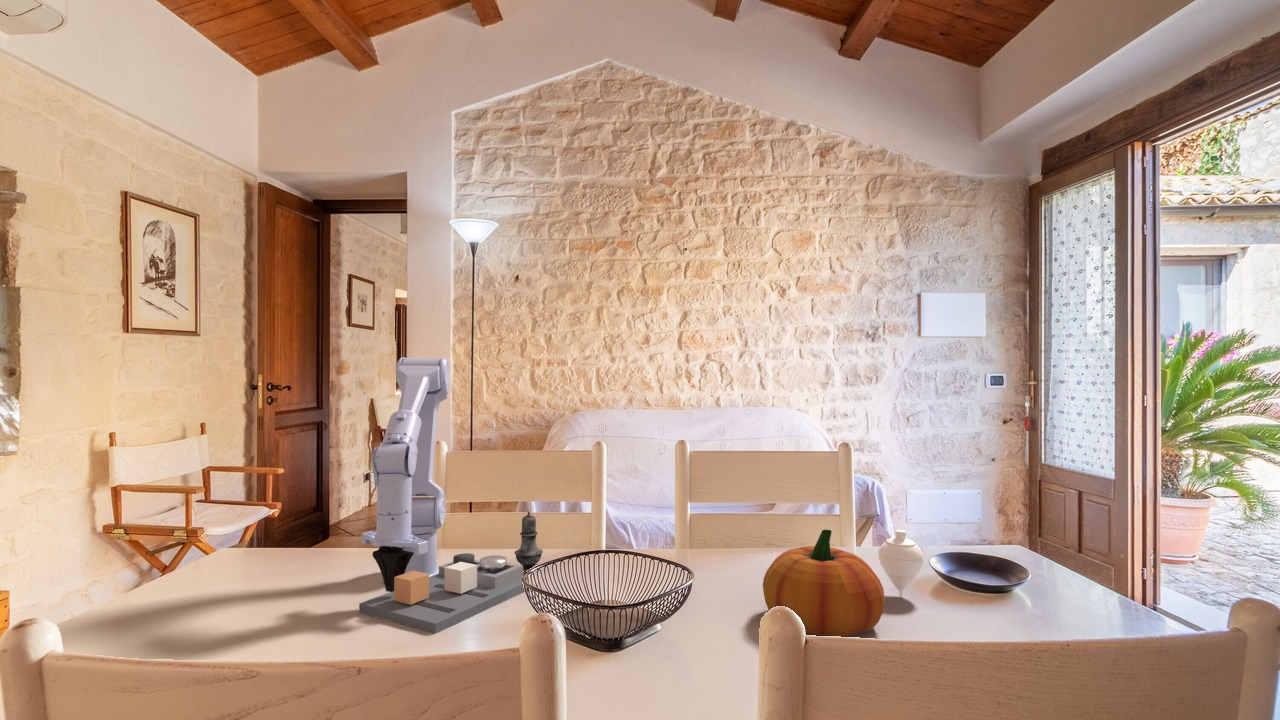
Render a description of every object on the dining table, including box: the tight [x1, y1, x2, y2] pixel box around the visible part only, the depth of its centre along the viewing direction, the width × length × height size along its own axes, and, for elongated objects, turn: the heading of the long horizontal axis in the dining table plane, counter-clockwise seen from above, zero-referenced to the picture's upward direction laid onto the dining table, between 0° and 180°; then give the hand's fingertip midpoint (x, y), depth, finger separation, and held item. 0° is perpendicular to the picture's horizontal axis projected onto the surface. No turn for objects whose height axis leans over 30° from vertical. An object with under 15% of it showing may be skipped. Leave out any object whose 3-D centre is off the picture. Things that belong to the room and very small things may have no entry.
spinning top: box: [878, 529, 924, 597], centre depth 116 cm, size 8×8×12 cm
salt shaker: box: [513, 511, 544, 574], centre depth 132 cm, size 6×6×12 cm
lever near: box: [394, 571, 429, 605], centre depth 108 cm, size 4×4×4 cm
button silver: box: [479, 554, 508, 571], centre depth 121 cm, size 5×5×2 cm
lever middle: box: [444, 562, 477, 594], centre depth 114 cm, size 4×4×4 cm
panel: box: [358, 559, 525, 634], centre depth 114 cm, size 18×26×4 cm
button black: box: [452, 552, 475, 564], centre depth 124 cm, size 4×4×1 cm
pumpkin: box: [762, 529, 885, 637], centre depth 104 cm, size 19×19×15 cm
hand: (393, 589), depth 111 cm, fingers closed
